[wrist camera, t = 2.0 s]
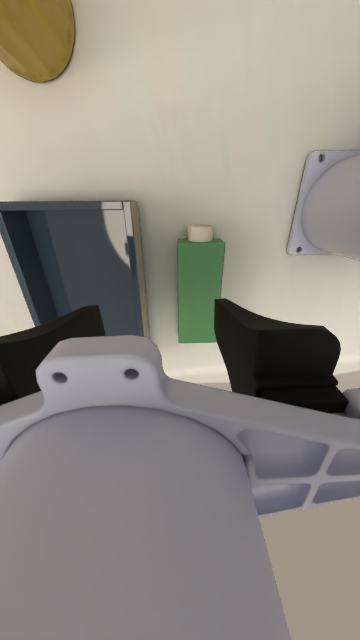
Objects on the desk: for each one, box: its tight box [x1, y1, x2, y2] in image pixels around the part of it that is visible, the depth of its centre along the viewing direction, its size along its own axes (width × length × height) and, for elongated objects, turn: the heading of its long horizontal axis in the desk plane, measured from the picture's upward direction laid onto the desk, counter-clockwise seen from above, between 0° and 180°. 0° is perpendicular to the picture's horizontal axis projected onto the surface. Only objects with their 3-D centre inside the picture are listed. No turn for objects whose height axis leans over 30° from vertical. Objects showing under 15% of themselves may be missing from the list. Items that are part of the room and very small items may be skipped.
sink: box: [0, 201, 150, 340], centre depth 21 cm, size 10×16×4 cm, turn 0°
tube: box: [177, 225, 225, 343], centre depth 21 cm, size 12×4×3 cm, turn 0°
